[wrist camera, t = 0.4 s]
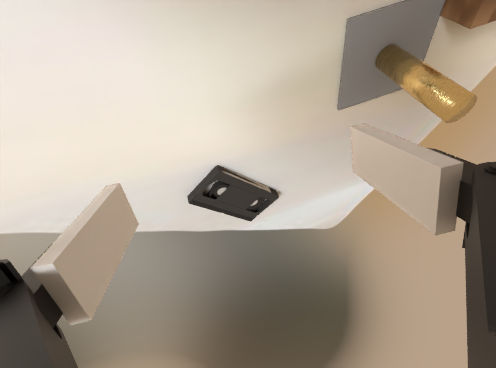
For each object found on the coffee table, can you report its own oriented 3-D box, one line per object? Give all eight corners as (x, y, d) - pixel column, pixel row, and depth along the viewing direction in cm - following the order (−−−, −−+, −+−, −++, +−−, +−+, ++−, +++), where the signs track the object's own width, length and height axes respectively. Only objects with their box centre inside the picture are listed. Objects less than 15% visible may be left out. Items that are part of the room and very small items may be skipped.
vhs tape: (276, 188, 50) (279, 196, 49) (247, 213, 53) (250, 221, 52) (216, 162, 41) (219, 171, 39) (187, 193, 44) (188, 203, 43)
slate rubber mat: (347, 18, 30) (349, 20, 29) (446, -13, 30) (449, -12, 30) (337, 108, 39) (338, 110, 39) (413, 83, 39) (415, 84, 39)
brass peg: (377, 48, 33) (452, 100, 25) (401, 40, 33) (482, 90, 26) (372, 72, 35) (439, 126, 28) (395, 65, 36) (467, 117, 28)
